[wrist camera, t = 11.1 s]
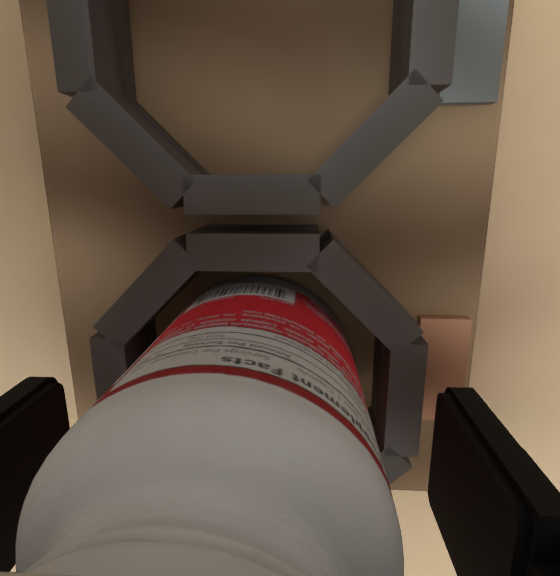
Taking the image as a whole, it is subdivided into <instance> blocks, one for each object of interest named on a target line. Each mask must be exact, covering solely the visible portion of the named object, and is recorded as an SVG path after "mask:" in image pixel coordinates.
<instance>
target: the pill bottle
mask: <svg viewBox="0 0 560 576" xmlns="http://www.w3.org/2000/svg"><path fill="white" fill-rule="evenodd" d="M16 572H22V573H42V574H62V575H80V576H404V556H403V545H402V536H401V529H400V525H399V521H398V517H397V513H396V509H395V505H394V502H393V498H392V493H391V489H390V485H389V482H388V479H387V475H386V472H385V469H384V465H383V462H382V459H381V455H380V452H379V448H378V445H377V441H376V437H375V434H374V428H373V426H372V423H371V419H370V415H369V412H368V408H367V405H366V402H365V398H364V395H363V391H362V387H361V384H360V380H359V377H358V373H357V370H356V367H355V363H354V359H353V356H352V352H351V350H350V346H349V343H348V340H347V338H346V335H345V333H344V331H343V329H342V327H341V325H340V323H339V321H338V320H337V318H336V316H335V315H334V314H333V312H332V311H331V310H330V309H329V308H328V307H327V306H326V304H325V303H324V302H322V301H321V300H320V299H319V298H318V297H316V296H315V295H314V294H312V293H311V292H309V291H308V290H306V289H305V288H303V287H301V286H299V285H297V284H294V283H292V282H289V281H286V280H283V279H279V278H275V277H268V276H247V277H241V278H235V279H231V280H228V281H225V282H222V283H220V284H218V285H215V286H213V287H212V288H210V289H208V290H206V291H205V292H204V293H202V294H201V295H199V296H198V297H197V298H196V299H195V300H193V301H192V302H191V303H190V304H189V305H188V306H187V307H186V308H185V309H184V310H183V311H182V312H181V313H180V315H179V316H178V317H177V318H176V319H175V320H174V321H173V322H172V323H171V324H170V325H169V326H168V327H167V329H166V330H165V331H164V332H163V333H162V334H161V335H160V336H159V337H158V338H157V339H156V340H155V341H154V342H153V343H152V344H151V345H150V347H149V348H148V349H147V350H146V351H145V352H144V353H143V354H142V355H141V356H140V357H139V358H138V359H137V360H136V361H135V362H134V363H133V364H132V365H131V367H130V368H129V369H128V370H127V371H126V372H125V373H124V374H123V375H122V376H121V377H120V378H119V379H118V380H117V381H116V382H115V383H114V384H113V385H112V386H111V387H110V388H109V389H108V390H107V392H106V393H105V394H104V395H103V396H102V397H101V398H100V399H99V400H98V401H97V402H96V403H95V404H94V405H93V406H92V407H91V408H90V409H89V410H88V411H87V412H86V413H85V414H84V415H83V416H82V417H81V418H80V419H79V420H78V421H77V422H76V423H75V424H74V425H73V426H72V427H71V428H70V429H69V430H68V432H67V433H66V434H65V435H64V436H63V437H62V438H61V440H60V441H59V442H58V443H57V445H56V446H55V447H54V448H53V450H52V451H51V452H50V454H49V455H48V456H47V458H46V459H45V461H44V463H43V464H42V466H41V468H40V469H39V471H38V472H37V474H36V476H35V477H34V479H33V481H32V484H31V486H30V488H29V491H28V493H27V496H26V498H25V501H24V504H23V507H22V511H21V514H20V519H19V524H18V530H17V538H16Z"/></svg>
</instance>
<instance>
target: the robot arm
mask: <svg viewBox="0 0 560 576" xmlns="http://www.w3.org/2000/svg"><path fill="white" fill-rule="evenodd" d="M69 429H70V427H69V420H68V413H67V406H66V400H65V393H64V388H63V386H62V384H60V383H58V382H57V380H56V379H55V378H54V377H28V378H26V379H25V380H23V381H22V382H20V383H19V384H18V385H16V386H15V387H13V388H12V389H10V390H9V391H7V392H6V393H5V394H3V395H2V396H0V576H80V575H62V574H42V573H22V572H10V571H11V569H12V568H13V567H14V565H15V564H16V538H17V530H18V524H19V519H20V514H21V511H22V507H23V504H24V501H25V498H26V496H27V493H28V491H29V488H30V486H31V484H32V481H33V479H34V477H35V476H36V474H37V472H38V471H39V469H40V468H41V466H42V464H43V463H44V461H45V459H46V458H47V456H48V455H49V454H50V452H51V451H52V450H53V448H54V447H55V446H56V445H57V443H58V442H59V441H60V440H61V438H62V437H63V436H64V435H65V434H66V433H67V432H68V430H69ZM428 498H429V503H430V506H431V508H432V511H433V514H434V516H435V519H436V522H437V524H438V527H439V529H440V532H441V535H442V537H443V540H444V542H445V545H446V548H447V550H448V553H449V555H450V558H451V561H452V563H453V566H454V568H455V571H456V574H457V576H560V492H559V491H558V490H557V489H556V488H555V486H554V485H553V484H552V483H551V481H550V480H549V479H548V478H547V477H546V475H545V474H544V473H543V472H542V470H541V469H540V468H539V467H538V466H537V464H536V463H535V462H534V461H533V459H532V458H531V457H530V456H529V455H528V453H527V452H526V451H525V450H524V449H523V448H522V447H521V446H520V445H519V444H518V443H517V441H516V440H515V439H514V438H513V436H512V435H511V434H510V433H509V431H508V430H507V429H506V428H505V427H504V425H503V424H502V423H501V422H500V420H499V419H498V418H497V417H496V415H495V414H494V413H493V412H492V411H491V409H490V408H489V407H488V406H487V404H486V403H485V402H484V401H483V399H482V398H481V397H480V396H479V395H478V393H477V392H476V391H475V390H474V389H473V388H467V387H447V388H446V389H445V392H444V393H439V394H438V395H437V400H436V410H435V420H434V431H433V441H432V451H431V461H430V471H429V481H428Z"/></svg>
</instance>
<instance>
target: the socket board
mask: <svg viewBox="0 0 560 576" xmlns="http://www.w3.org/2000/svg"><path fill="white" fill-rule="evenodd" d="M19 4H20V11H21V18H22V25H23V32H24V39H25V46H26V53H27V60H28V67H29V74H30V81H31V89H32V96H33V103H34V110H35V117H36V124H37V131H38V138H39V145H40V152H41V159H42V166H43V174H44V181H45V188H46V195H47V202H48V209H49V216H50V223H51V230H52V237H53V244H54V251H55V258H56V266H57V273H58V280H59V287H60V294H61V301H62V308H63V315H64V322H65V329H66V336H67V343H68V351H69V358H70V365H71V372H72V379H73V386H74V393H75V400H76V407H77V414H78V420H79V419H80V418H81V417H82V416H83V415H84V414H85V413H86V412H87V411H88V410H89V409H90V408H91V407H92V406H93V405H94V404H95V403H96V402H97V401H98V400H99V399H100V398H101V397H102V396H103V395H104V394H105V393H106V392H107V390H108V389H109V388H110V387H111V386H112V385H113V384H114V383H115V382H116V381H117V380H118V379H119V378H120V377H121V376H122V375H123V374H124V373H125V372H126V371H127V370H128V369H129V368H130V367H131V365H132V364H133V363H134V362H135V361H136V360H137V359H138V358H139V357H140V356H141V355H142V354H143V353H144V352H145V351H146V350H147V349H148V348H149V347H150V345H151V344H152V343H153V342H154V341H155V340H156V339H157V338H158V337H159V336H160V335H161V334H162V333H163V332H164V331H165V330H166V329H167V327H168V326H169V325H170V324H171V323H172V322H173V321H174V320H175V319H176V318H177V317H178V316H179V315H180V313H181V312H182V311H183V310H184V309H185V308H186V307H187V306H188V305H189V304H190V303H191V302H192V301H193V300H195V299H196V298H197V297H198V296H199V295H201V294H202V293H204V292H205V291H206V290H208V289H210V288H212V287H213V286H215V285H218V284H220V283H222V282H225V281H228V280H231V279H235V278H241V277H247V276H268V277H275V278H279V279H283V280H286V281H289V282H292V283H294V284H297V285H299V286H301V287H303V288H305V289H306V290H308V291H309V292H311V293H312V294H314V295H315V296H316V297H318V298H319V299H320V300H321V301H322V302H324V303H325V304H326V306H327V307H328V308H329V309H330V310H331V311H332V312H333V314H334V315H335V316H336V318H337V320H338V321H339V323H340V325H341V327H342V329H343V331H344V333H345V335H346V338H347V340H348V343H349V346H350V350H351V352H352V356H353V359H354V363H355V367H356V370H357V373H358V377H359V380H360V384H361V387H362V391H363V395H364V398H365V402H366V405H367V408H368V412H369V415H370V419H371V423H372V426H373V428H374V434H375V437H376V441H377V445H378V448H379V452H380V455H381V459H382V462H383V465H384V469H385V472H386V475H387V479H388V482H389V485H390V489H391V490H413V491H428V481H429V471H430V461H431V451H432V441H433V431H434V420H435V410H436V400H437V395H438V394H439V393H444V392H445V389H446V388H447V387H467V388H468V387H469V379H470V370H471V362H472V353H473V345H474V337H475V328H476V320H477V311H478V303H479V294H480V286H481V278H482V269H483V261H484V252H485V244H486V236H487V227H488V219H489V210H490V202H491V193H492V185H493V177H494V168H495V160H496V151H497V143H498V134H499V126H500V118H501V109H502V101H503V92H504V84H505V75H506V67H507V59H508V50H509V42H510V33H511V25H512V16H513V8H514V0H19Z"/></svg>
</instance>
